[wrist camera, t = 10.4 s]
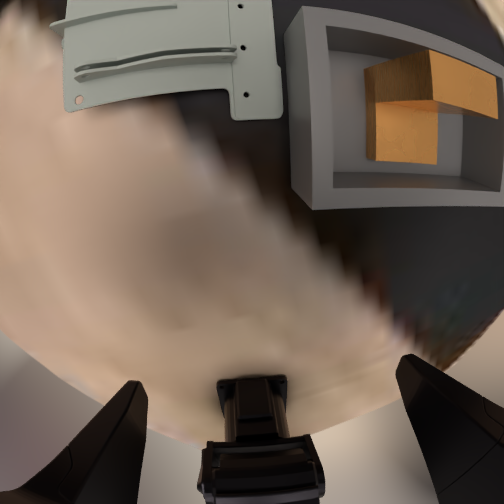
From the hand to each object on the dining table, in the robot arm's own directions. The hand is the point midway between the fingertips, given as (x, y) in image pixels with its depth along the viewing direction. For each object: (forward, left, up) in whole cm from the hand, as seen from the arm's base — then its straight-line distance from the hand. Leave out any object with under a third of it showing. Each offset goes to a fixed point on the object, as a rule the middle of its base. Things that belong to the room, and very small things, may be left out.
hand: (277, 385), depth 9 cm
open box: (+9, -10, -12) cm, 18 cm away
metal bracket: (+15, +4, -12) cm, 20 cm away
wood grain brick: (+9, -10, -11) cm, 17 cm away
